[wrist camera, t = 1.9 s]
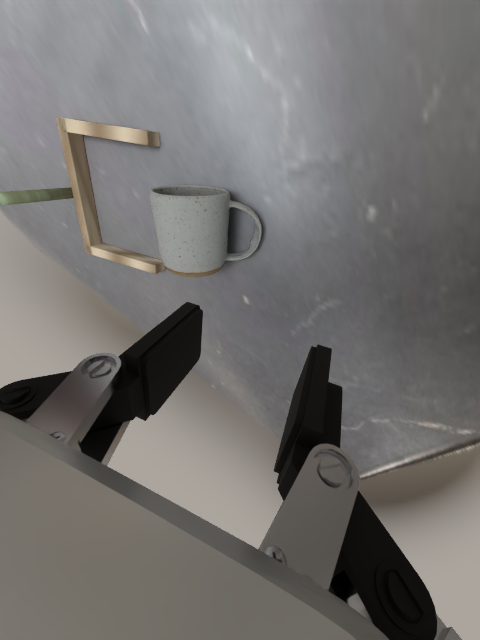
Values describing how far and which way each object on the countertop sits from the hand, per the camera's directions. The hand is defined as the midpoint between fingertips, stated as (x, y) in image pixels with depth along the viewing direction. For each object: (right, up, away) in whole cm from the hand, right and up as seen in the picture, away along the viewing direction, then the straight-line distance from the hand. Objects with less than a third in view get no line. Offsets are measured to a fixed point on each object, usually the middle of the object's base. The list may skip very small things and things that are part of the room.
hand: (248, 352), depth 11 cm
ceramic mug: (-3, +13, +18) cm, 22 cm away
